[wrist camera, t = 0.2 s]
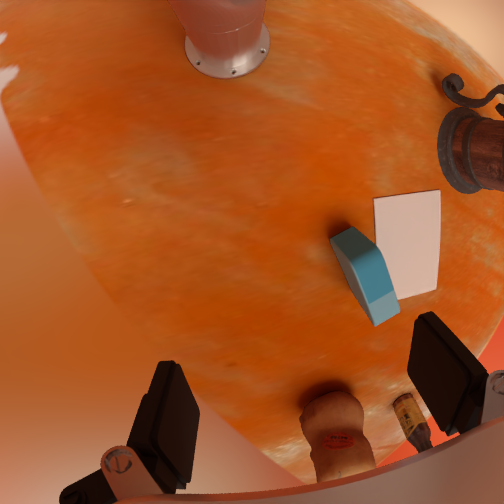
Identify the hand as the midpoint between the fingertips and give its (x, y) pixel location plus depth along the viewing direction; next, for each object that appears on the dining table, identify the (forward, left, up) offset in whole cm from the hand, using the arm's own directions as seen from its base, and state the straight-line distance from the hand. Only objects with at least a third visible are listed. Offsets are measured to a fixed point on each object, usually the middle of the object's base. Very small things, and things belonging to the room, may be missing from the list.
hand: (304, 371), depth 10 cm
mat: (+13, +25, -36) cm, 46 cm away
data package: (+13, +14, -37) cm, 41 cm away
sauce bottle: (+57, +29, -37) cm, 73 cm away
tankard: (-7, +39, -37) cm, 54 cm away
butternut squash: (+47, +8, -37) cm, 60 cm away
